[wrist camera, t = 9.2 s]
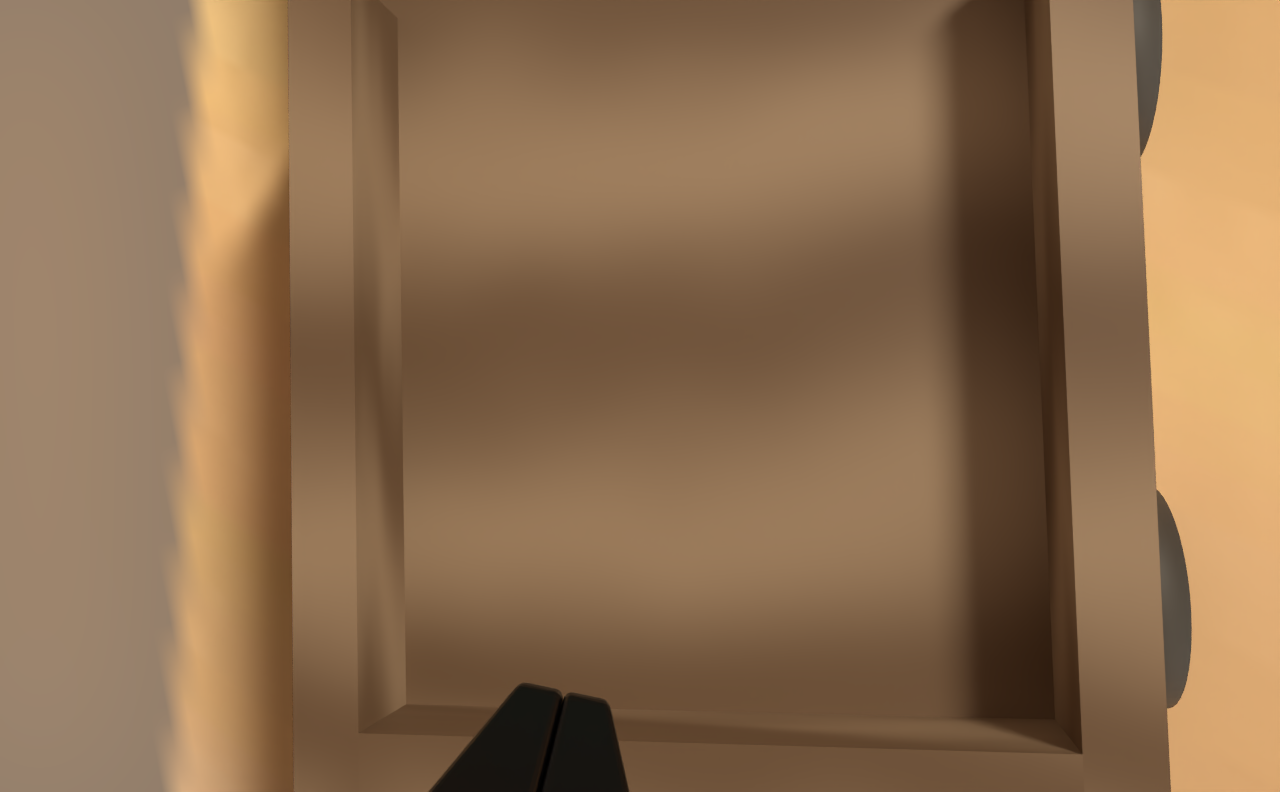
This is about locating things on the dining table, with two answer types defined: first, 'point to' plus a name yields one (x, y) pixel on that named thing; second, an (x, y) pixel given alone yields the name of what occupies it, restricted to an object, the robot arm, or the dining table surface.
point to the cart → (730, 390)
